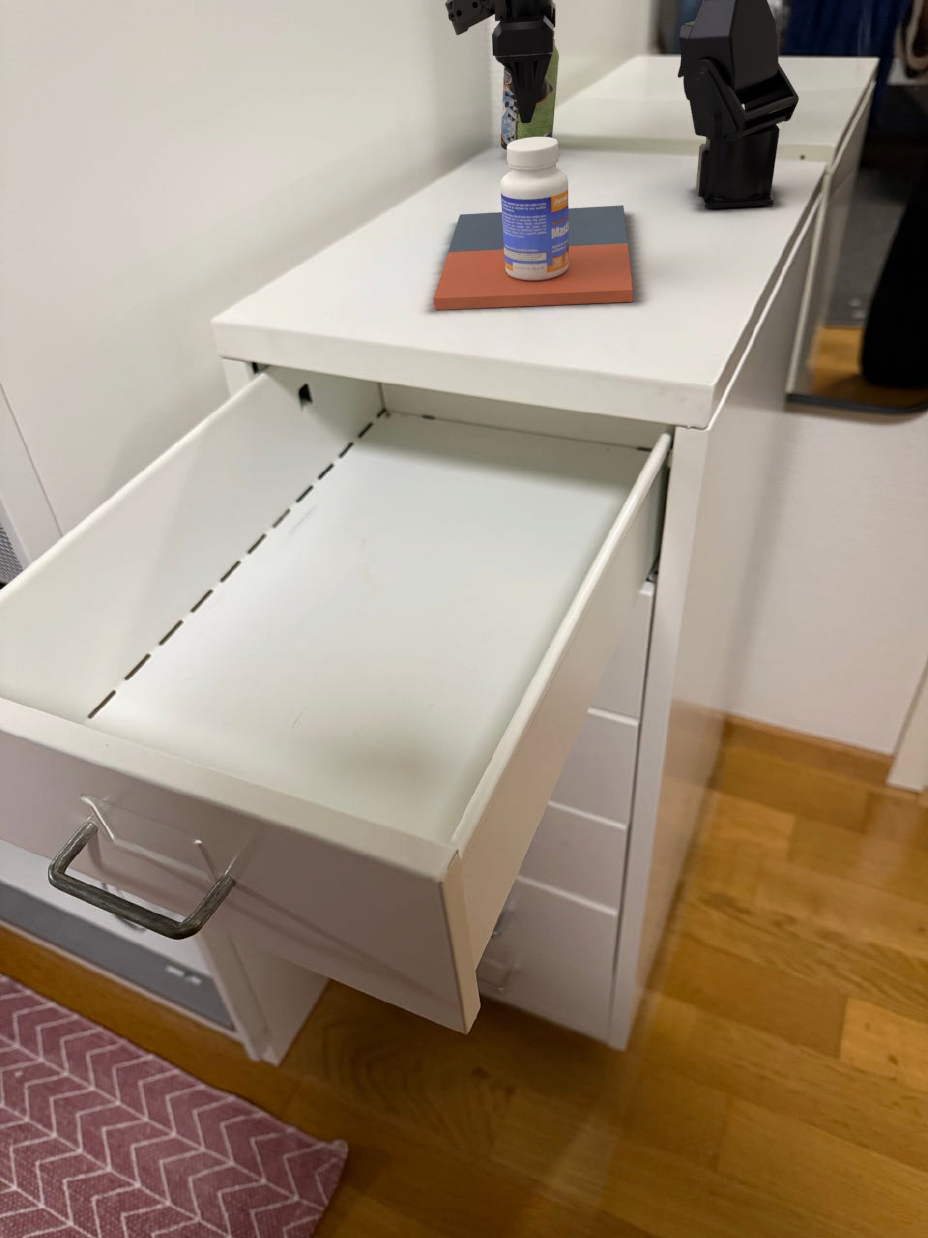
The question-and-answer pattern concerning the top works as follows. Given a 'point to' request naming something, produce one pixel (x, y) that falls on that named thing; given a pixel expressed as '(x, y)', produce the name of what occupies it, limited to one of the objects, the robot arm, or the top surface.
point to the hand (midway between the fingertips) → (527, 114)
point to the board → (588, 279)
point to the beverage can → (543, 110)
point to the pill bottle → (535, 210)
